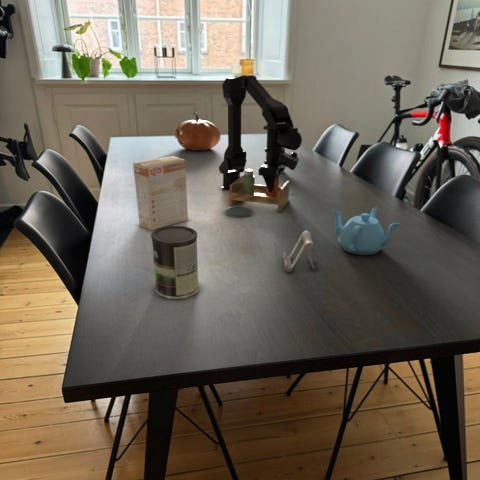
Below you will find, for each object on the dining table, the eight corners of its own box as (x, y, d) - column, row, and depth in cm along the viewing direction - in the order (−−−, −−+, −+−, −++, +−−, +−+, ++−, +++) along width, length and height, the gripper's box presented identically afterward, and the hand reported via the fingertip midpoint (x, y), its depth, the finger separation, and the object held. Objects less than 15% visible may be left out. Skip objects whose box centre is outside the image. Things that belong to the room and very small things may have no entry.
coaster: (222, 215, 156) (222, 213, 156) (230, 207, 164) (230, 205, 163) (247, 218, 154) (247, 216, 154) (254, 210, 161) (254, 208, 161)
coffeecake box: (175, 214, 156) (172, 155, 146) (188, 220, 152) (186, 159, 142) (138, 224, 147) (132, 162, 137) (151, 230, 143) (145, 166, 133)
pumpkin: (181, 143, 262) (179, 107, 252) (224, 145, 259) (224, 109, 249) (169, 152, 240) (167, 113, 231) (216, 154, 238) (216, 115, 228)
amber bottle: (264, 196, 164) (265, 173, 160) (267, 192, 168) (268, 170, 164) (276, 197, 163) (278, 174, 159) (279, 194, 167) (280, 171, 163)
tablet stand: (283, 258, 127) (285, 229, 122) (311, 259, 126) (314, 230, 122) (284, 272, 119) (287, 242, 115) (315, 273, 119) (318, 243, 115)
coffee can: (154, 300, 105) (148, 242, 98) (157, 280, 114) (152, 225, 107) (199, 299, 106) (197, 242, 99) (198, 279, 115) (197, 225, 108)
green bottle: (240, 193, 167) (241, 170, 162) (244, 190, 170) (244, 168, 166) (252, 195, 166) (253, 172, 161) (255, 191, 169) (256, 169, 165)
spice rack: (229, 206, 165) (229, 185, 161) (241, 195, 177) (241, 175, 173) (280, 212, 160) (281, 190, 157) (288, 200, 172) (289, 180, 168)
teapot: (346, 260, 127) (351, 224, 121) (326, 239, 139) (330, 206, 134) (394, 256, 129) (402, 221, 124) (370, 236, 142) (376, 204, 137)
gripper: (292, 152, 147) (288, 200, 155) (303, 142, 162) (299, 186, 170) (258, 149, 150) (257, 196, 158) (272, 139, 165) (270, 183, 173)
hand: (272, 190), depth 165 cm, fingers closed on amber bottle, 4 cm apart
